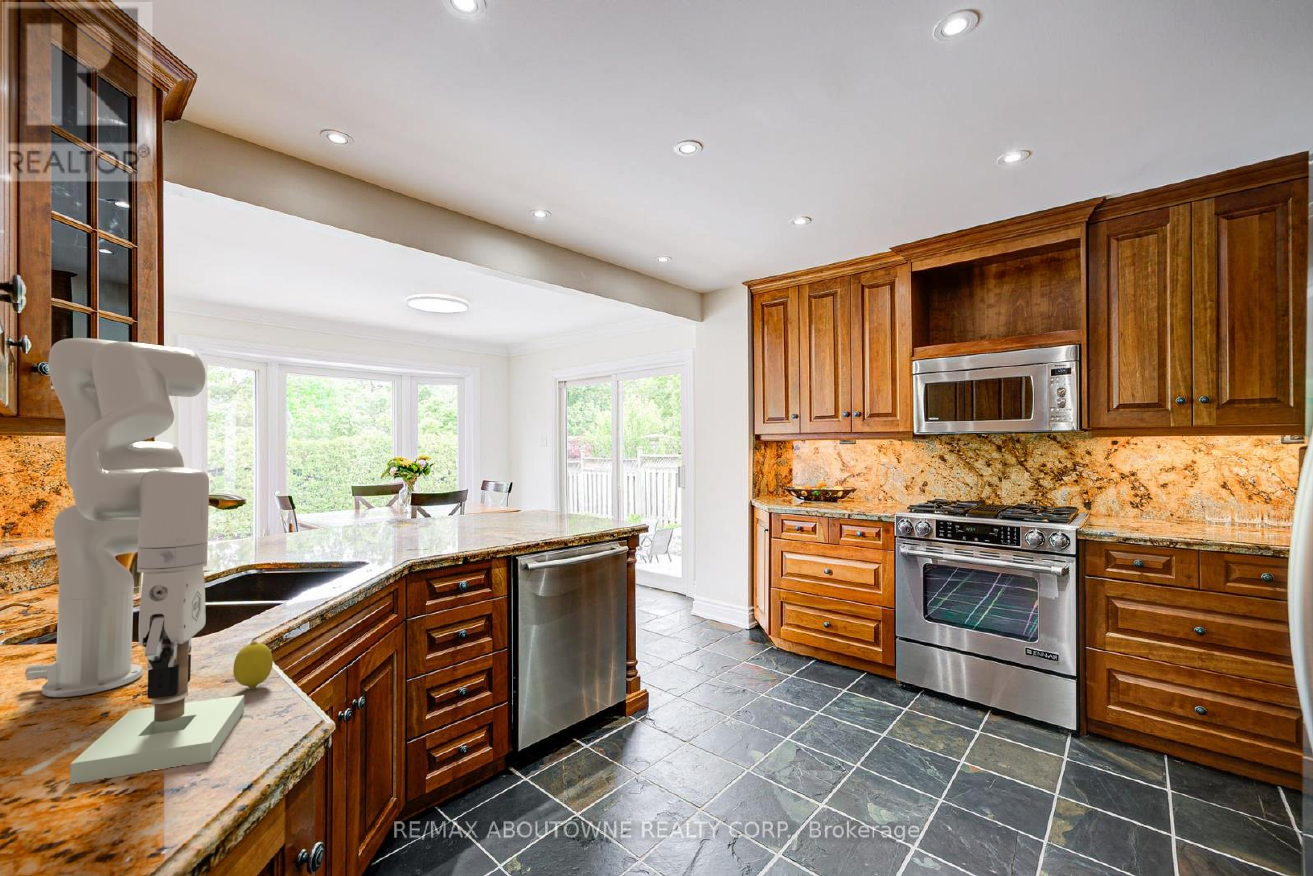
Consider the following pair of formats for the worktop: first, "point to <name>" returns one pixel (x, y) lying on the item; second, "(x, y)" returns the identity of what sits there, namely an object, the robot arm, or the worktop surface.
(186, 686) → the peg
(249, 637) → the worktop surface
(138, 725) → the board
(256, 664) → the lemon
